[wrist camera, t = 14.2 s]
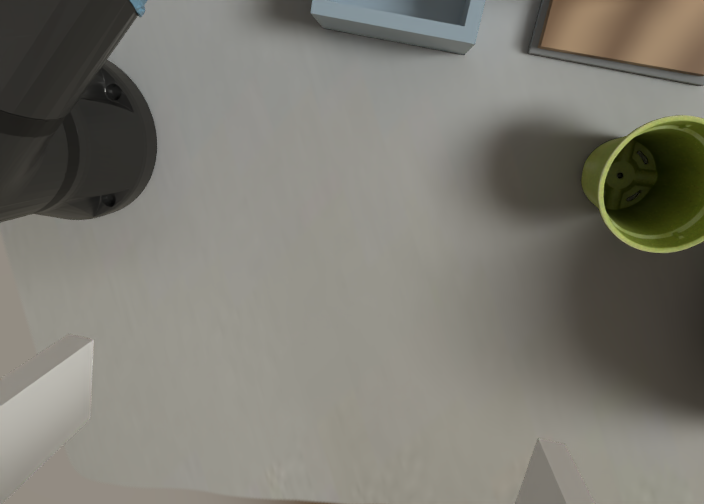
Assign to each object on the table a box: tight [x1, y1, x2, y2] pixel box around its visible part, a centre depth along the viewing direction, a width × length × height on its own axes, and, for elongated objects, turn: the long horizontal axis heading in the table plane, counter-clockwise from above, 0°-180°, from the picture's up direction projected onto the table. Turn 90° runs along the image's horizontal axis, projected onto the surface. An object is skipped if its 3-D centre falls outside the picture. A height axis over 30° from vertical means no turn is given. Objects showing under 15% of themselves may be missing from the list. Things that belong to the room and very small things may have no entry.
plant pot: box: [581, 115, 704, 253], centre depth 37 cm, size 9×9×9 cm
